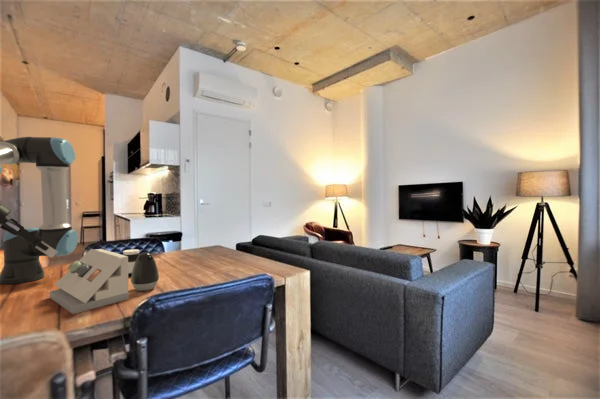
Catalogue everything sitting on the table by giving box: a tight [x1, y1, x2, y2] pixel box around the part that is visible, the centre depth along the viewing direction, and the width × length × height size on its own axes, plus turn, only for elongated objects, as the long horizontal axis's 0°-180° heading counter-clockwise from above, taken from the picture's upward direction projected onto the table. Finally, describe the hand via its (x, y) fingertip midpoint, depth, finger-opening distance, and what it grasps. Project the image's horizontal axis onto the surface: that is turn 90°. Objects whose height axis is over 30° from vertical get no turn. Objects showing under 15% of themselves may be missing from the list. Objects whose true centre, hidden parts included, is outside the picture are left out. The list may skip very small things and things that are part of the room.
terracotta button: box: [89, 270, 101, 281], centre depth 104 cm, size 4×4×4 cm
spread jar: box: [122, 249, 141, 277], centre depth 142 cm, size 12×11×12 cm
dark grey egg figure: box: [130, 252, 160, 292], centre depth 121 cm, size 10×10×15 cm
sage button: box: [68, 260, 83, 273], centre depth 113 cm, size 4×4×4 cm
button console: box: [49, 248, 129, 315], centre depth 110 cm, size 25×17×17 cm
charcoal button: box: [76, 264, 91, 277], centre depth 108 cm, size 4×4×4 cm
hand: (54, 254), depth 108 cm, fingers closed
